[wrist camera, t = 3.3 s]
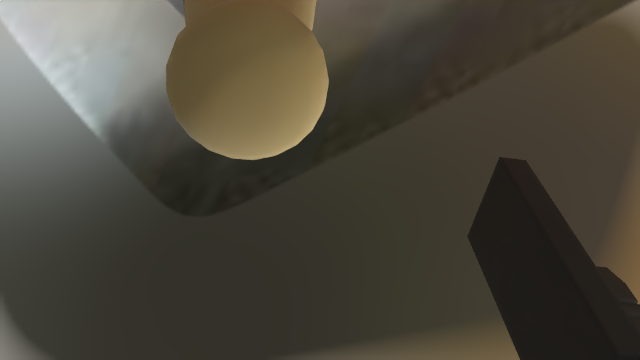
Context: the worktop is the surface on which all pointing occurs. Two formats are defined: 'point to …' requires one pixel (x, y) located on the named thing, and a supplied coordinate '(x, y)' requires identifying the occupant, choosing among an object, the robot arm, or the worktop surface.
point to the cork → (247, 75)
